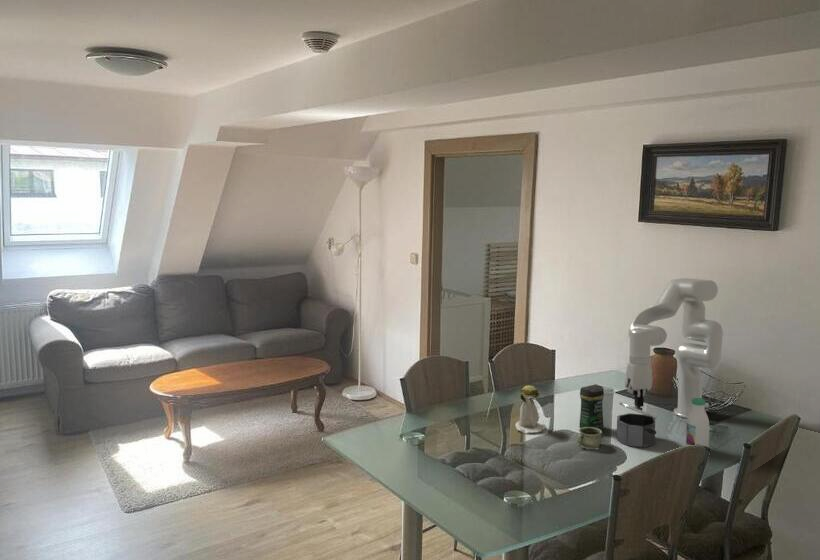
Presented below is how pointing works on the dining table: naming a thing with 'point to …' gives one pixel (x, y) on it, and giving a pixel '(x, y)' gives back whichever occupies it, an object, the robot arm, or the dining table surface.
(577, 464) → the dining table surface
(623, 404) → the lid
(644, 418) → the pot
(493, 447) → the dining table surface
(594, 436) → the vessel
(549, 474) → the dining table surface
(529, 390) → the white figurine
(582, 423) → the coffee jar
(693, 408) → the milk bottle
